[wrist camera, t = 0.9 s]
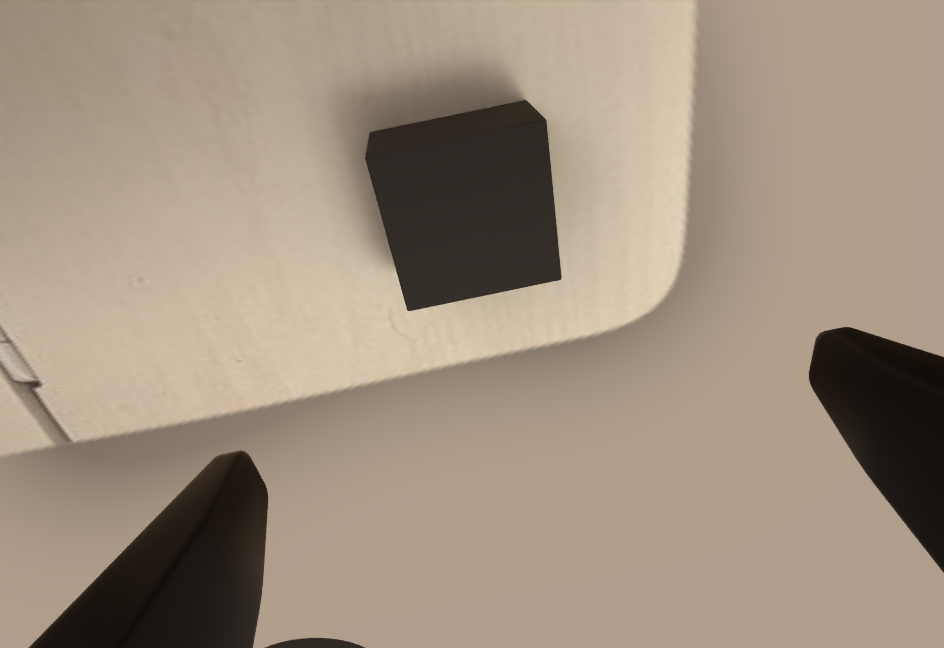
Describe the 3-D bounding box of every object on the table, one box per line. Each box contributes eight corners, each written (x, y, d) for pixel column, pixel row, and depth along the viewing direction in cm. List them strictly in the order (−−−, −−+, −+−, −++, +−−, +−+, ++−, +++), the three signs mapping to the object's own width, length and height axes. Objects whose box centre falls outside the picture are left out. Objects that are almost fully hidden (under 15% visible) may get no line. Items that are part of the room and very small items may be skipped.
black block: (406, 272, 18) (407, 312, 16) (368, 131, 16) (364, 156, 14) (542, 244, 18) (561, 280, 16) (526, 99, 16) (546, 119, 14)
